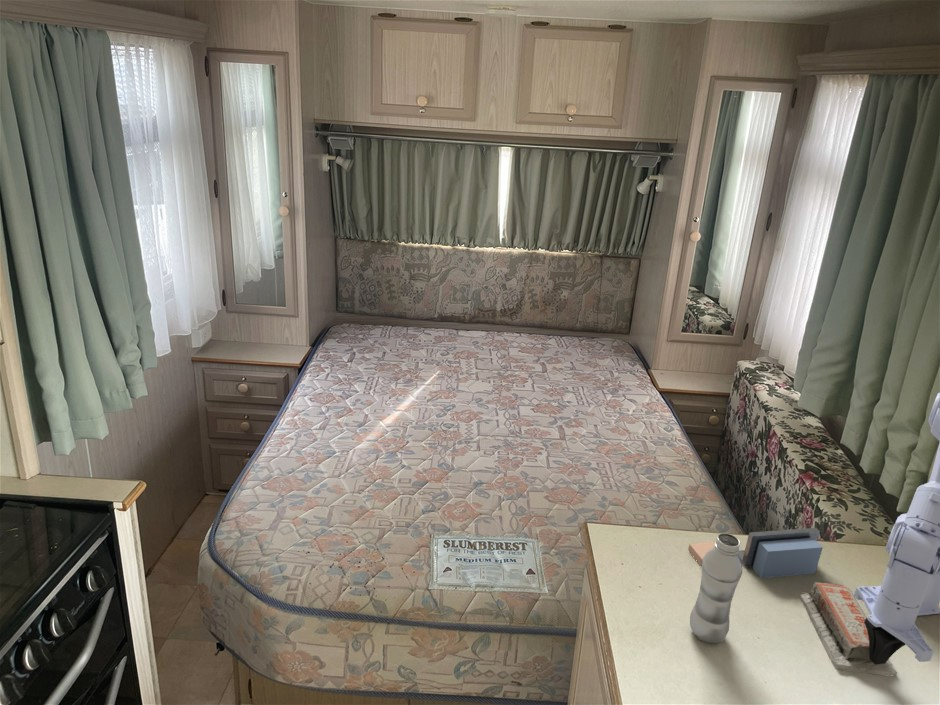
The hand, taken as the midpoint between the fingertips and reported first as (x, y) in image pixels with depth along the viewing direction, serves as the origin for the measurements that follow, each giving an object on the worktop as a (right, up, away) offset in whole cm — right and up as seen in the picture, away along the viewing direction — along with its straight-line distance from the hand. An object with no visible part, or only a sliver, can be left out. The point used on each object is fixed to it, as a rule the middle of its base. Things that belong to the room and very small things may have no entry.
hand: (877, 660), depth 114 cm
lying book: (-18, +9, +28) cm, 34 cm away
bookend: (-5, +9, +28) cm, 30 cm away
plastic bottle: (-26, +1, +7) cm, 27 cm away
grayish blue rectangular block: (-4, +7, +24) cm, 26 cm away
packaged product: (-1, 0, +9) cm, 9 cm away
